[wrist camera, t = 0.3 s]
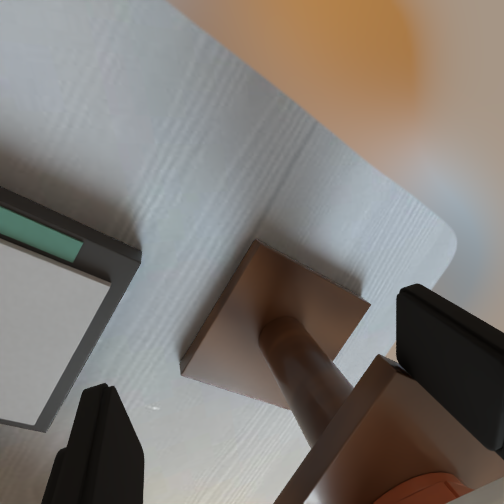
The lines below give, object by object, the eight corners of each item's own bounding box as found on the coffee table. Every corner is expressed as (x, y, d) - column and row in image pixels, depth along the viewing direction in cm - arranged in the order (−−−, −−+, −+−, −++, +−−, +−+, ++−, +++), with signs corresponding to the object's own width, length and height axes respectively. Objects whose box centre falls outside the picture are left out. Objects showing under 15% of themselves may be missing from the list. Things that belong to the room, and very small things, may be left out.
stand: (255, 237, 25) (397, 371, 10) (361, 297, 30) (562, 446, 15) (179, 363, 27) (210, 631, 12) (291, 401, 31) (412, 627, 17)
